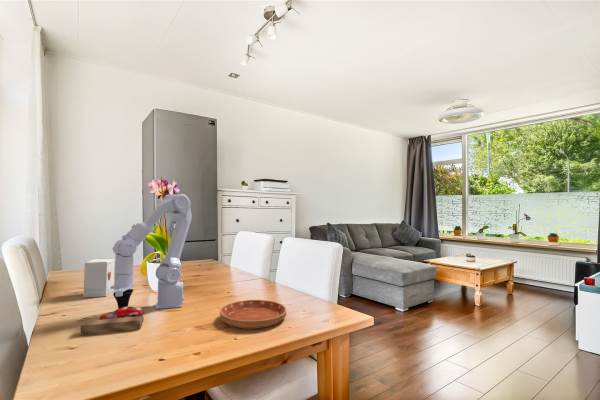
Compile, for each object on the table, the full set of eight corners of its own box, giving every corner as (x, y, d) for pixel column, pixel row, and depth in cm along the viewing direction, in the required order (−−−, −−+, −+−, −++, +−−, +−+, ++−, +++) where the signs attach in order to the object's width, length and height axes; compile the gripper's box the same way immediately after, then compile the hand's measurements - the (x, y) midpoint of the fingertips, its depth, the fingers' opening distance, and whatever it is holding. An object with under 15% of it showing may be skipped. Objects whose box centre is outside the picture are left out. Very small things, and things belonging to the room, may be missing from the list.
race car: (97, 325, 101) (97, 313, 101) (100, 320, 106) (100, 308, 106) (142, 319, 107) (142, 308, 107) (143, 314, 112) (143, 303, 112)
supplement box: (106, 296, 132) (107, 261, 133) (82, 297, 130) (83, 262, 131) (114, 291, 141) (115, 258, 141) (92, 292, 139) (93, 258, 140)
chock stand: (144, 320, 105) (144, 311, 105) (139, 329, 97) (140, 320, 97) (89, 325, 100) (90, 316, 100) (80, 335, 92) (80, 325, 92)
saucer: (260, 304, 124) (260, 295, 124) (299, 320, 108) (299, 309, 108) (207, 318, 108) (207, 308, 108) (244, 339, 92) (245, 326, 92)
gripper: (116, 269, 116) (115, 306, 115) (105, 278, 102) (104, 319, 102) (137, 268, 118) (136, 304, 118) (129, 277, 104) (128, 317, 104)
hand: (123, 311), depth 110 cm, fingers closed
